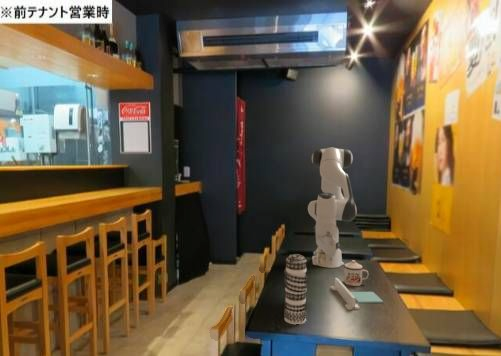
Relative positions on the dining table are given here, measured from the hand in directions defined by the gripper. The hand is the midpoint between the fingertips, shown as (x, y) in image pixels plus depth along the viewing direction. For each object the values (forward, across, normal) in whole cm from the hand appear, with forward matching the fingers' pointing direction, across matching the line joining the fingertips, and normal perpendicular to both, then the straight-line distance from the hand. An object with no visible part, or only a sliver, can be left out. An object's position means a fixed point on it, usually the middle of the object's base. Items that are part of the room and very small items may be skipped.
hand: (325, 260), depth 150 cm
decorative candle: (+17, -20, +17) cm, 32 cm away
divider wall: (+17, 0, -9) cm, 19 cm away
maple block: (+2, 0, 0) cm, 2 cm away
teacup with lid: (+18, +18, -21) cm, 33 cm away
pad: (+17, 0, -19) cm, 26 cm away
